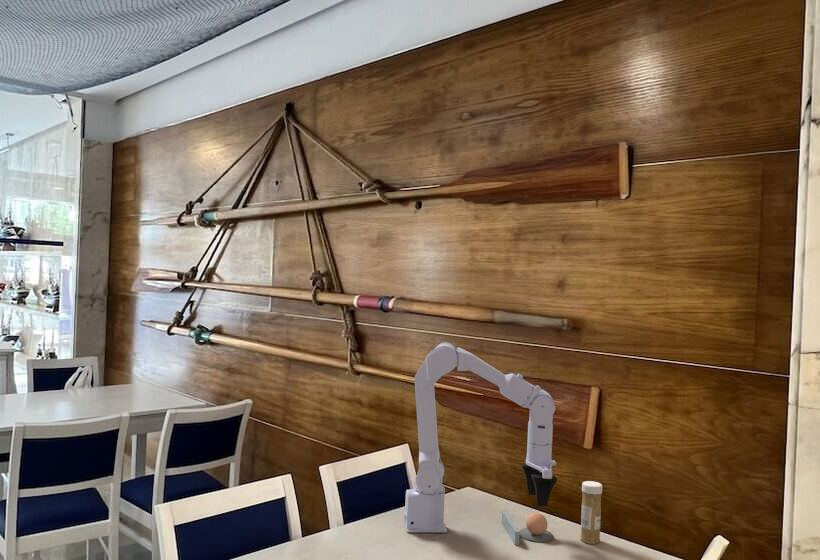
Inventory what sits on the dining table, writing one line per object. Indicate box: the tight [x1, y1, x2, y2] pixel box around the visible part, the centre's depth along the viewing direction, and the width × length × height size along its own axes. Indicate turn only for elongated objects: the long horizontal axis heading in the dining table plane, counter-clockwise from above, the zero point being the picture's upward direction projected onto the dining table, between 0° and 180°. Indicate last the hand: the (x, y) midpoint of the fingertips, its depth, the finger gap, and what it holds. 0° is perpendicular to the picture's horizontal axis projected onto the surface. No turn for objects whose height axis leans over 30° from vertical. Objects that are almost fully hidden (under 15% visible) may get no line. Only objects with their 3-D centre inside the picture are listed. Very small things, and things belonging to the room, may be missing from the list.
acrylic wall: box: [501, 510, 520, 546], centre depth 157 cm, size 1×13×3 cm, turn 5°
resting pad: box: [519, 527, 554, 543], centre depth 156 cm, size 8×8×1 cm
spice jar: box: [580, 480, 603, 545], centre depth 154 cm, size 5×5×14 cm
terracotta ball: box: [525, 512, 549, 535], centre depth 156 cm, size 5×5×5 cm
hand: (537, 499), depth 156 cm, fingers open, 7 cm apart
